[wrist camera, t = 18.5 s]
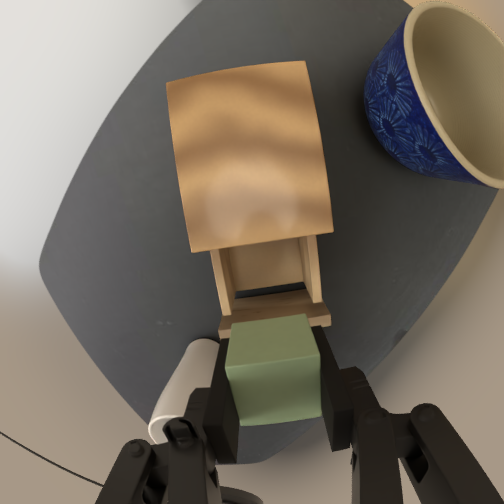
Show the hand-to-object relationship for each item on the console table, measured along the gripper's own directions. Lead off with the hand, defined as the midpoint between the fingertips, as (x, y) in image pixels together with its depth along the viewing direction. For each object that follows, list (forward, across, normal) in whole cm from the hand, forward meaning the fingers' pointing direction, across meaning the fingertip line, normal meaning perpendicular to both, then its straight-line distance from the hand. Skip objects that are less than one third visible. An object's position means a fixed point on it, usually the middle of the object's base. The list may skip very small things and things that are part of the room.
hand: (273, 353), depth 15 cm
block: (0, 0, 0) cm, 0 cm away
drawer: (+17, 0, 0) cm, 17 cm away
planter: (+18, +20, +16) cm, 31 cm away
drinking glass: (+18, -9, -11) cm, 23 cm away
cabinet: (+18, 0, +12) cm, 21 cm away
